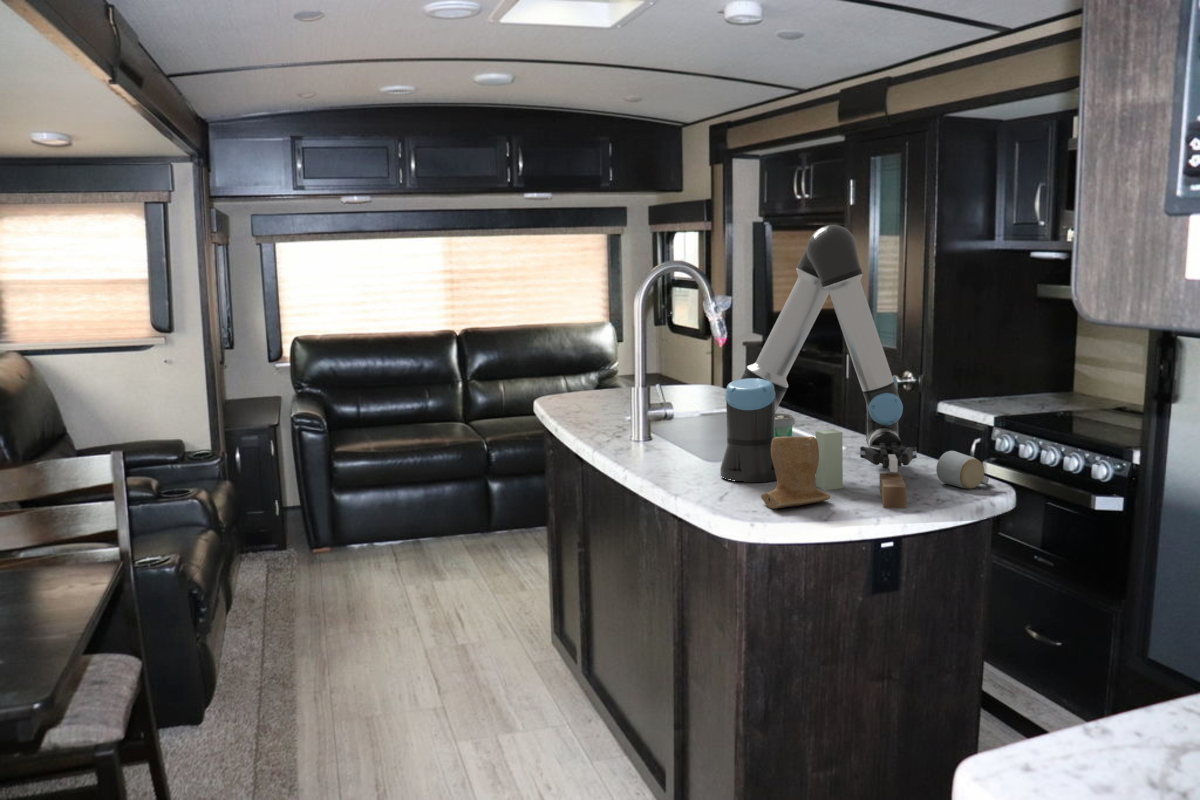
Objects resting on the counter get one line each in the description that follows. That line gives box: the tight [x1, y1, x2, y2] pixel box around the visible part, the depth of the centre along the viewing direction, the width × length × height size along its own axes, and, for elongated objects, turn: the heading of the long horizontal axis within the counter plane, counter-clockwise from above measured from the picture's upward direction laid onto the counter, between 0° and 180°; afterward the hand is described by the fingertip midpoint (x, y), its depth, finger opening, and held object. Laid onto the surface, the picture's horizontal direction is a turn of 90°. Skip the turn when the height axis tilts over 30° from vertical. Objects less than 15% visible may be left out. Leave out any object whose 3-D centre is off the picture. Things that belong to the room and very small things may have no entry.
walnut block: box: [879, 472, 907, 509], centre depth 210 cm, size 4×4×14 cm
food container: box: [775, 412, 796, 437], centre depth 269 cm, size 12×6×10 cm, turn 168°
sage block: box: [815, 428, 844, 491], centre depth 224 cm, size 4×4×13 cm
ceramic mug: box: [935, 450, 990, 490], centre depth 221 cm, size 11×8×8 cm
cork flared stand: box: [760, 435, 832, 509], centre depth 210 cm, size 15×12×15 cm
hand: (894, 466), depth 212 cm, fingers closed
